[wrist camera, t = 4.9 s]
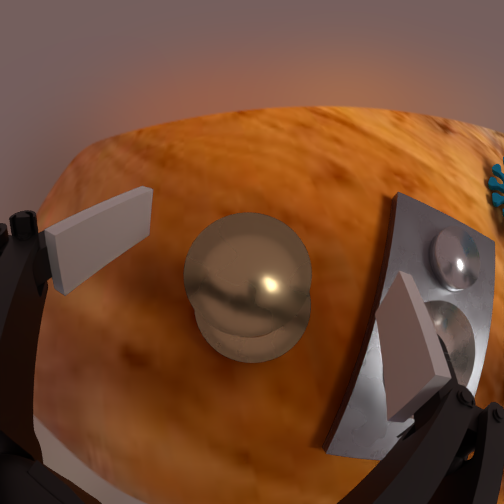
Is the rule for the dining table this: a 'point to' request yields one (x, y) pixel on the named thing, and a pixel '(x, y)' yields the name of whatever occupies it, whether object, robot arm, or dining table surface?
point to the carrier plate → (440, 311)
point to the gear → (497, 185)
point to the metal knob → (249, 286)
